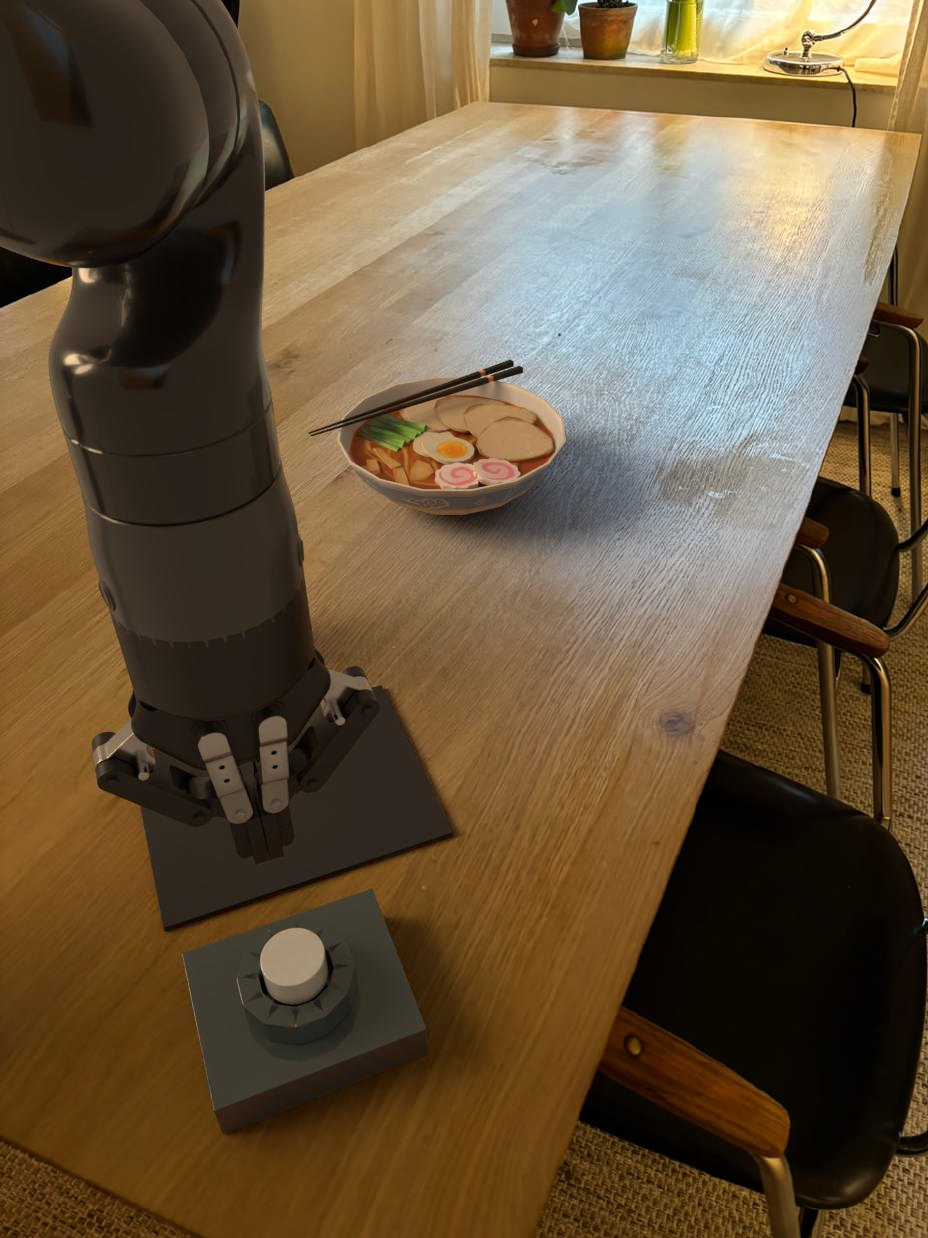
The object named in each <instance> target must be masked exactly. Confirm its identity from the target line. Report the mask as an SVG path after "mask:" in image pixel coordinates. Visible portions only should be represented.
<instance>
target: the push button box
mask: <svg viewBox="0 0 928 1238" xmlns="http://www.w3.org/2000/svg"><path fill="white" fill-rule="evenodd" d="M379 904H380V903H379V902H378V900H377V897H376V894H375V892H374V889H373V888H370V889H369V888H368V889H366V890H364V891H362V892H358V893H355V894H352V895H349V896H347V897H343V898H340V899H337V900H334V901H331V902H329V903H326V904H322V905H319V906H316V907H313V908H311V909H308V910H304V911H302V912H299V913H296V914H293V915H290V916H287V917H285V918H284V917H283V918H281V919H279V920H276V921H272V922H269V923H267V924H264V925H261V926H257V927H255V928H252V929H249V930H246V931H242V932H240V933H237V934H234V935H232V936H228V937H225V938H222V939H220V940H217V941H213V942H211V943H208V944H205V945H201V946H198V947H195V948H193V949H190V950H187V951H184V952H181V957H182V961H183V967H184V972H185V976H186V982H187V986H188V991H189V996H190V1002H191V1007H192V1011H193V1016H194V1020H195V1026H196V1031H197V1036H198V1040H199V1045H200V1050H201V1051H200V1052H201V1056H202V1060H203V1066H204V1071H205V1075H206V1081H207V1086H208V1090H209V1095H210V1100H211V1105H212V1110H213V1113H214V1115H215V1118H216V1121H217V1124H218V1125H219V1128H220V1131H221V1132H222V1135H223V1136H225V1135H227V1134H229V1133H232V1132H235V1131H237V1130H240V1129H243V1128H245V1127H247V1126H250V1125H253V1124H255V1123H257V1122H260V1121H262V1120H265V1119H267V1118H271V1117H273V1116H276V1115H278V1114H281V1113H283V1112H285V1111H288V1110H290V1109H293V1108H296V1107H298V1106H301V1105H303V1104H306V1103H308V1102H311V1101H313V1100H315V1099H318V1098H321V1097H323V1096H326V1095H328V1094H332V1093H334V1092H336V1091H340V1090H341V1089H344V1088H346V1087H349V1086H352V1085H354V1084H357V1083H359V1082H362V1081H364V1080H366V1079H369V1078H371V1077H374V1076H377V1075H379V1074H381V1073H384V1072H387V1071H389V1070H392V1069H394V1068H397V1067H399V1066H402V1065H405V1064H407V1063H409V1062H412V1061H414V1060H417V1059H420V1058H423V1057H425V1056H427V1055H429V1043H428V1042H429V1041H428V1029H427V1025H426V1023H425V1021H424V1018H423V1016H422V1013H421V1011H420V1008H419V1005H418V1003H417V1000H416V997H415V995H414V992H413V990H412V987H411V985H410V982H409V979H408V977H407V974H406V972H405V970H404V969H405V968H404V966H403V964H402V962H401V959H400V955H399V954H398V951H397V948H396V946H395V943H394V941H393V937H392V935H391V933H390V930H389V928H388V925H387V923H386V920H385V918H384V915H383V912H382V910H381V907H380V905H379ZM291 928H303V929H307V930H309V931H312V932H313V933H315V934H316V935H317V936H318V937H319V938H320V939H321V941H322V942H323V945H324V948H325V953H326V959H327V964H328V979H327V981H326V984H325V986H324V987H323V989H322V990H321V991H320V993H319V994H318V995H317V996H315V997H314V998H313V999H311V1000H309V1001H307V1002H304V1003H301V1004H294V1005H291V1004H284V1003H281V1002H279V1001H277V1000H276V999H274V998H273V997H272V996H271V995H270V994H269V992H268V990H267V988H266V985H265V981H264V978H263V974H262V970H261V966H260V956H261V953H262V950H263V948H264V946H265V945H266V943H267V942H268V941H269V940H270V939H271V938H272V937H273V936H274V935H276V934H277V933H279V932H281V931H283V930H286V929H291Z"/></svg>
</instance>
